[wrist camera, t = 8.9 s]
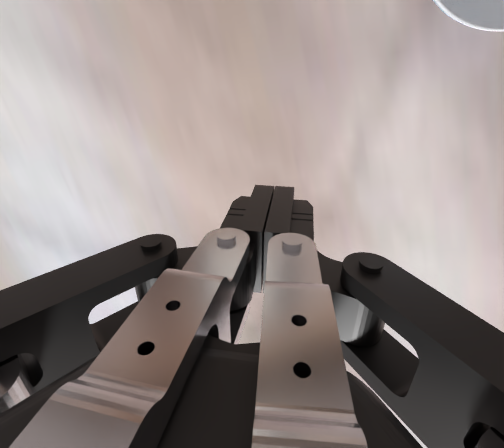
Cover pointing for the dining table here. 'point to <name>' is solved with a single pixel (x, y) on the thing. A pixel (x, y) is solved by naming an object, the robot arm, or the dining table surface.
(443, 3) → the chinaware
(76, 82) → the dining table surface
